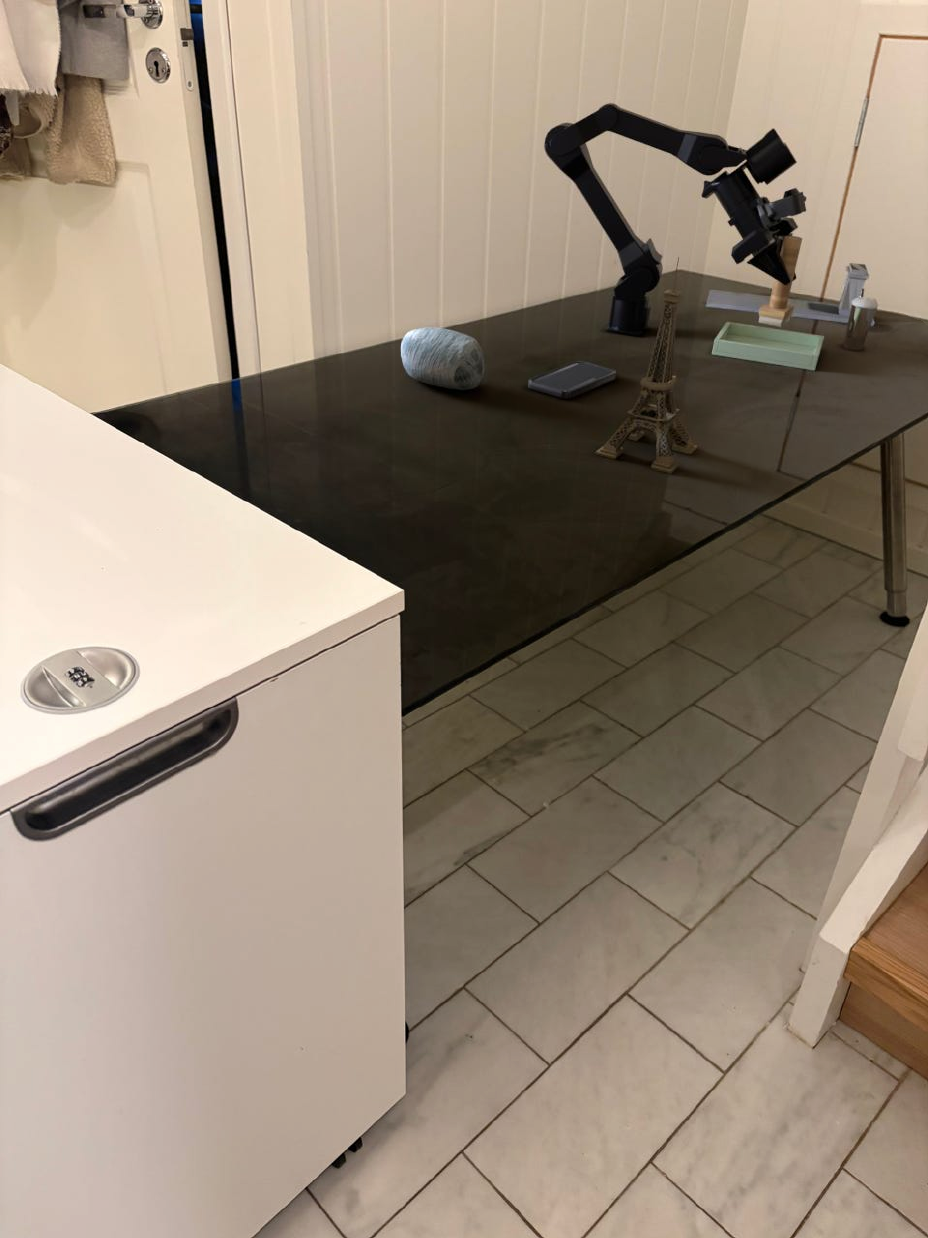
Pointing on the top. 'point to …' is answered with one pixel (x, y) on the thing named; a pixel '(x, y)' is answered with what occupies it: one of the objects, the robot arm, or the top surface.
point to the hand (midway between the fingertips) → (791, 281)
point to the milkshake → (859, 321)
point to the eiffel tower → (665, 411)
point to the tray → (768, 345)
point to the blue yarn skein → (443, 358)
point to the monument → (802, 307)
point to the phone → (572, 379)
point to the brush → (782, 287)
